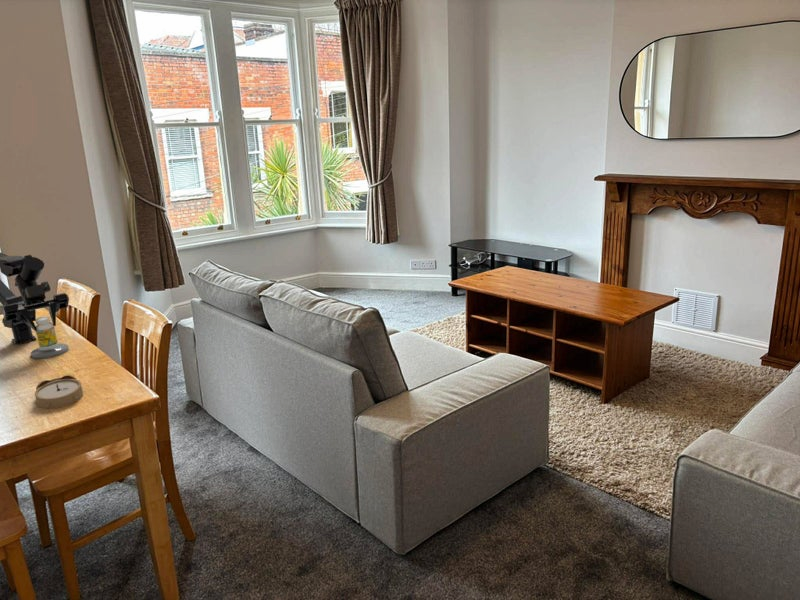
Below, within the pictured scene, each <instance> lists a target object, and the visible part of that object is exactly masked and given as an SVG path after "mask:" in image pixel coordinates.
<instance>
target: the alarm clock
mask: <svg viewBox="0 0 800 600" xmlns="http://www.w3.org/2000/svg"><path fill="white" fill-rule="evenodd" d="M82 386H83V385H82V382H81V381H80V380H79V379H77V377H75V376H74V375H72V374H66V375H63V376H61V377H57V378H53V379H50V380H47V379H44V380H42V381H40V382H39V383H38V384H37V385H36V388H35V391H34V397H35V400H36V405H37V407H38V408H41V409H45V410H46V409H47V410H48V409H51V410H52V409H57V408H62V406H63V407H66V406H69V405H72V404H74V403H76V402H78V401H79V400H81V399H82V398H83V396H84V391H83V387H82ZM81 397H82V398H81ZM80 398H81V399H80ZM77 400H78V401H77ZM73 402H74V403H73ZM71 403H72V404H71ZM68 404H69V405H68ZM65 405H66V406H65Z"/></svg>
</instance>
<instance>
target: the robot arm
mask: <svg viewBox="0 0 800 600" xmlns="http://www.w3.org/2000/svg"><path fill="white" fill-rule="evenodd" d="M44 268H45V262H44V260H42V259H40V258H38V257H35V256H32V255H31V254H27V255H24V256H22V255H7V254H6V253H3V252H0V273H1V274H2V275H4V276H5V277H8V278H11V277H14V276H15V278H14V286H15V287H17V288H18V291H19V293H20V296H16V294H15V293H13V291H12V289H10V288H9V287H8V286H7V285H6V284H5V282H4V281H2V280H1V279H0V304H2V316H3V318H2V320H1V322H2V324H3V327H4V328H9V329H11V332H12V336H13V338H12V339H11V341H12V342H13V343H14V345H21V344H25V343H28V342H32V341H36V340H37V336H35V335H33V334H34V333H33V331H32V330H34V331H35V332H36V330H37V329H36V326H37V325H35V324H36V323H35V322H36V319H37V318H36V317H37V316H36V315H37V314H36V312H37V311H36V310H40V309H44V308H49V311H48V313H49V317H50V321H51V323H52V324H53V325H54V327H56V326H57V318H56V317H57V316H56V315H57V313H58V312H59V311H60V310H62V309H67V308H68V307H69V303H70V302H69V301H70V297H69V295H68V294H67V293H65V292H62V293H57V294H54V295H53V296H52V299H49V300H46V298H47V297H46V293H49V292H50V291H51V286H50V283H49V282H48V281H42V282H41V283H40V284H38V282H37V280H39V279H40V276H41V274H42V273H43V270H44ZM24 342H25V343H24ZM20 343H21V344H20Z"/></svg>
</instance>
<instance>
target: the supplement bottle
mask: <svg viewBox="0 0 800 600" xmlns="http://www.w3.org/2000/svg"><path fill="white" fill-rule="evenodd" d="M35 324H36V325H35V326H36V329H37V330H36V331H35V334H36V340H37V342H38V345H39V347H40V348H42V349H47V348H52V347H55V346H56V345H57V344H59V342H58V338H57V333H56V329H55V326H54V325H53V323H52V322H51V317H50V316H41V317H38V318H36V321H35Z"/></svg>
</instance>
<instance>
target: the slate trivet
mask: <svg viewBox="0 0 800 600" xmlns="http://www.w3.org/2000/svg"><path fill="white" fill-rule="evenodd" d="M69 350H70V347H69V344H66V343H58V344H57V345H56V346H55V347H52V348H47V349H42V348H40V346H39V347H37V348H35V349H33V350H32V351H31V352H30V355H31V358H32V359H35V360H42V359H50V358H54V357H58V356H61V355H63V354H66V353H68V351H69Z"/></svg>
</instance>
